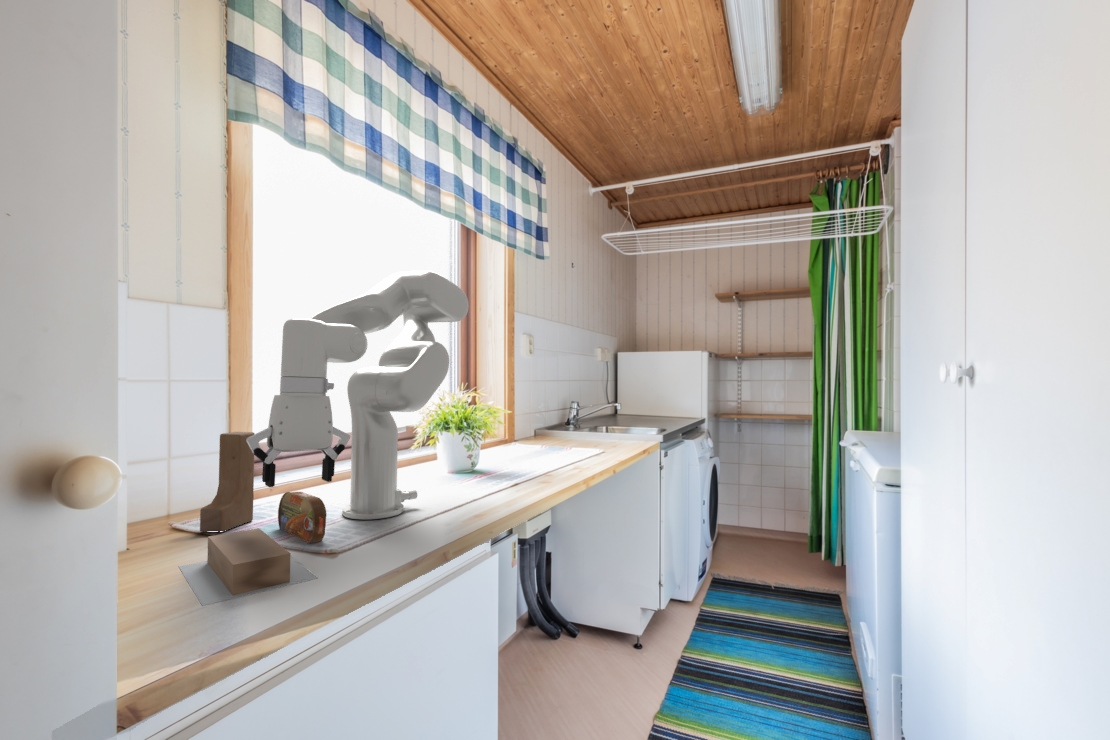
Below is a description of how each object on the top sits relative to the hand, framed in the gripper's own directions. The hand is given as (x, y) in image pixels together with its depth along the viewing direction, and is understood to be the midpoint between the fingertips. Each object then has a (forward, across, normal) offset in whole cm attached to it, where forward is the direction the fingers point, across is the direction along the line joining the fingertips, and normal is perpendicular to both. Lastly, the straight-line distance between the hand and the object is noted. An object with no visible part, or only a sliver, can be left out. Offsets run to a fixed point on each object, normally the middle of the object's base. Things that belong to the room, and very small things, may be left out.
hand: (299, 483), depth 96 cm
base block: (+10, +11, +13) cm, 20 cm away
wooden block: (+10, +7, -19) cm, 22 cm away
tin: (+11, -1, -1) cm, 11 cm away
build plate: (+11, +11, +13) cm, 20 cm away
